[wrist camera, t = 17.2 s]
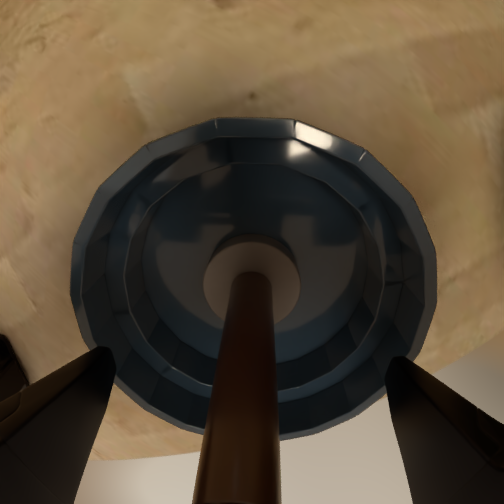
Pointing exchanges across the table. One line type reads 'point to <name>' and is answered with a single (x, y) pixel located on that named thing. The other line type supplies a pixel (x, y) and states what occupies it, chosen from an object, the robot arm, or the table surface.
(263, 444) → the wooden dowel with disc
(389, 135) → the table surface
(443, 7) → the table surface
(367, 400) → the bowl
